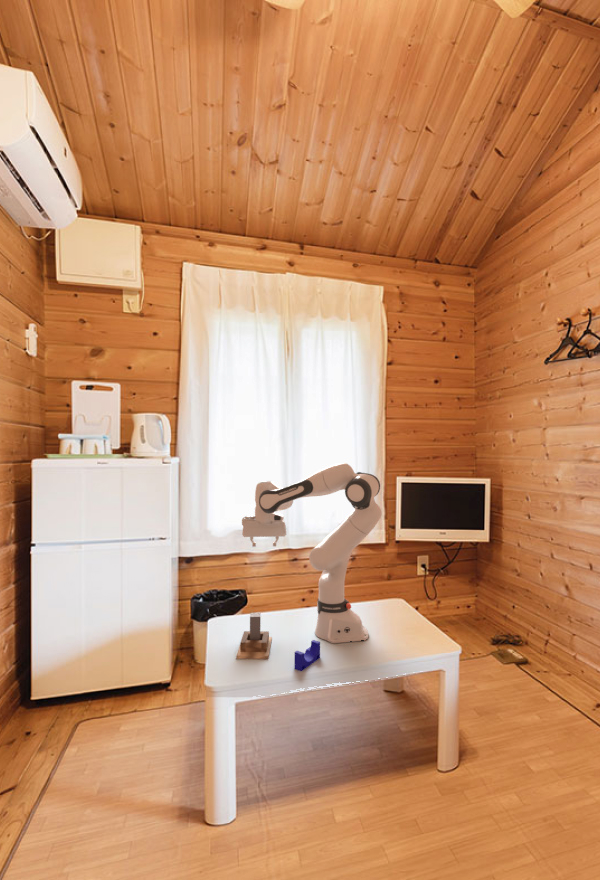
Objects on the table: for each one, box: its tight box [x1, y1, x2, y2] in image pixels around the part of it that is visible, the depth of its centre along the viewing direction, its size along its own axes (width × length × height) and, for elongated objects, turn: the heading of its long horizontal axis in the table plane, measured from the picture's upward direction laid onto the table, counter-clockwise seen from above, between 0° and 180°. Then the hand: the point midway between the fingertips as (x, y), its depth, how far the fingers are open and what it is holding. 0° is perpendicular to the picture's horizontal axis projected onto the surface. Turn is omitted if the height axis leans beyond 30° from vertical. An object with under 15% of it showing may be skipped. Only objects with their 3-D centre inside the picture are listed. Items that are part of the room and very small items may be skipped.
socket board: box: [235, 630, 273, 660], centre depth 158 cm, size 12×16×4 cm
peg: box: [249, 612, 262, 640], centre depth 158 cm, size 4×4×12 cm
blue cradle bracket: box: [294, 639, 321, 672], centre depth 147 cm, size 12×4×6 cm, turn 144°
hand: (264, 546), depth 185 cm, fingers open, 8 cm apart
